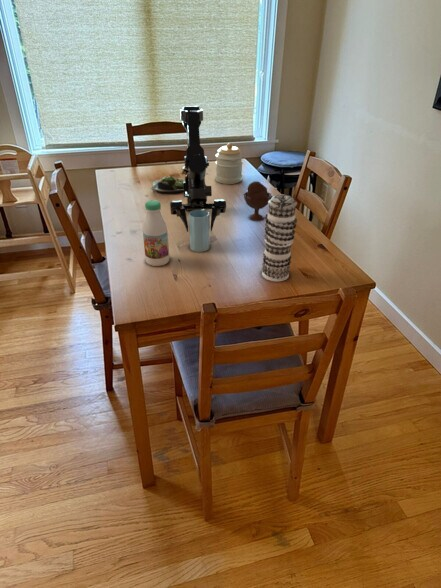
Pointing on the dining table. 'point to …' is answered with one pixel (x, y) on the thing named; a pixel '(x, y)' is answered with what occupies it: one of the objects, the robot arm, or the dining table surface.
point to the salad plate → (169, 185)
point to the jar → (229, 164)
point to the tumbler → (199, 230)
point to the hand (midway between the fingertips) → (199, 231)
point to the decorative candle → (279, 237)
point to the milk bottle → (155, 235)
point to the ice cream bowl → (256, 198)
